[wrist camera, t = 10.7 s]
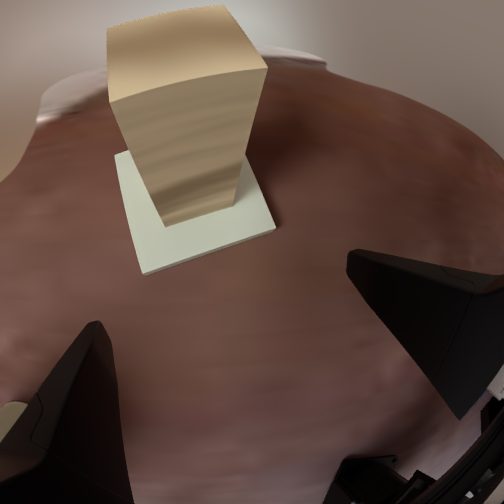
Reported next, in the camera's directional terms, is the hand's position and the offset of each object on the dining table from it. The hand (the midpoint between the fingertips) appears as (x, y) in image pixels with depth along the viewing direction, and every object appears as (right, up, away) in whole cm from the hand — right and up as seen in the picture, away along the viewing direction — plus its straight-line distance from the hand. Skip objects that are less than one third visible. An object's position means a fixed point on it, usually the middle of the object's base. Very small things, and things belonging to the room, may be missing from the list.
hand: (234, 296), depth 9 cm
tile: (-4, +6, +12) cm, 14 cm away
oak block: (-4, +6, +11) cm, 13 cm away
